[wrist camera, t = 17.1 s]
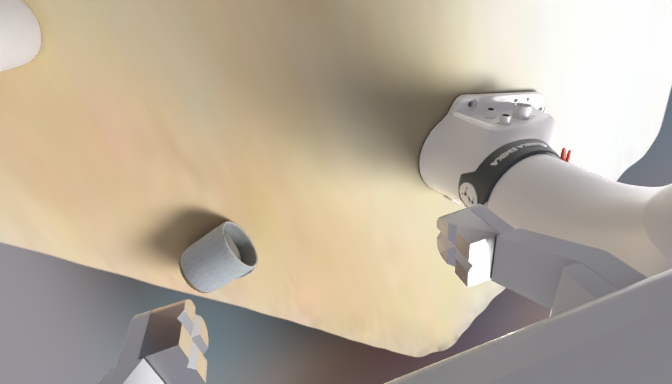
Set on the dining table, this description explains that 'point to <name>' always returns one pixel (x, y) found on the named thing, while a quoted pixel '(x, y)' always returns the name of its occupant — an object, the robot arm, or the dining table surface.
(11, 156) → the dining table surface
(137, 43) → the dining table surface
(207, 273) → the ceramic mug
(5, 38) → the milk bottle
